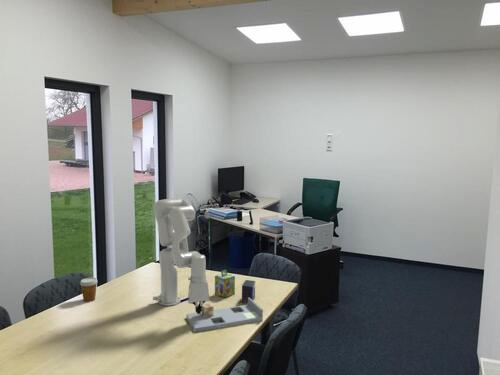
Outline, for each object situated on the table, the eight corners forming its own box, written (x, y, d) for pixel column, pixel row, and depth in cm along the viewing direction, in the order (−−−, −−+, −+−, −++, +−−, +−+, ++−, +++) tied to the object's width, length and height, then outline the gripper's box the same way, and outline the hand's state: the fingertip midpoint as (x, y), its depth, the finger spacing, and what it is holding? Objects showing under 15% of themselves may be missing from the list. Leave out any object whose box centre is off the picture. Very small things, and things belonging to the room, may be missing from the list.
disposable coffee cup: (101, 297, 238) (100, 277, 236) (93, 303, 228) (92, 283, 227) (85, 296, 238) (85, 277, 237) (77, 302, 229) (76, 282, 228)
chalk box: (225, 298, 238) (225, 274, 236) (214, 294, 244) (214, 271, 242) (235, 294, 245) (235, 270, 244) (224, 290, 251) (224, 267, 249)
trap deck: (195, 332, 193) (195, 320, 193) (186, 317, 210) (186, 306, 209) (262, 320, 207) (262, 309, 207) (249, 307, 224) (249, 297, 223)
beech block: (204, 317, 206) (204, 307, 205) (201, 313, 210) (201, 304, 210) (213, 315, 208) (213, 306, 207) (210, 312, 212) (210, 303, 212)
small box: (252, 304, 230) (252, 286, 229) (241, 303, 231) (241, 285, 230) (255, 297, 240) (255, 280, 239) (245, 296, 241) (245, 279, 240)
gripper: (185, 282, 199) (186, 318, 201) (214, 279, 205) (214, 313, 206) (182, 278, 206) (182, 312, 208) (210, 275, 212) (210, 308, 213)
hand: (198, 313), depth 207 cm, fingers closed
